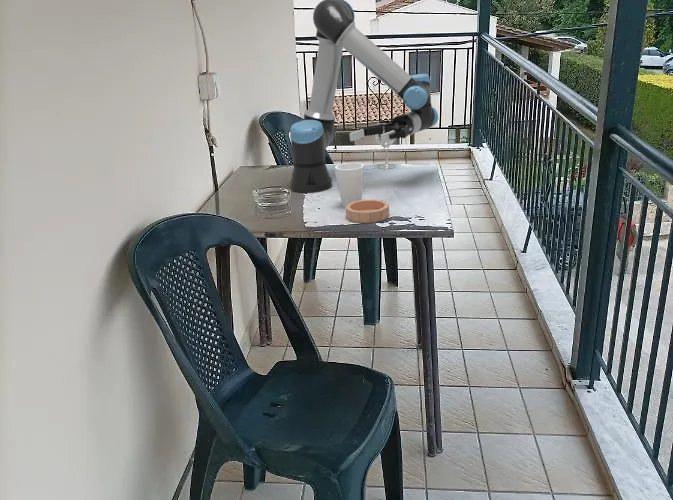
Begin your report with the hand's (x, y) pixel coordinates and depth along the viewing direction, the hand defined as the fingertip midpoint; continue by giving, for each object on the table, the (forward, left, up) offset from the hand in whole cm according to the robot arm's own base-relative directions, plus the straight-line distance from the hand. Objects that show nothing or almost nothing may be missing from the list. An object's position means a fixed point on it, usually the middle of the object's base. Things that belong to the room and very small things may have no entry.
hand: (365, 138), depth 209 cm
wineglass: (-19, +37, -21) cm, 46 cm away
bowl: (+12, -16, -20) cm, 29 cm away
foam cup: (0, -9, -21) cm, 22 cm away
